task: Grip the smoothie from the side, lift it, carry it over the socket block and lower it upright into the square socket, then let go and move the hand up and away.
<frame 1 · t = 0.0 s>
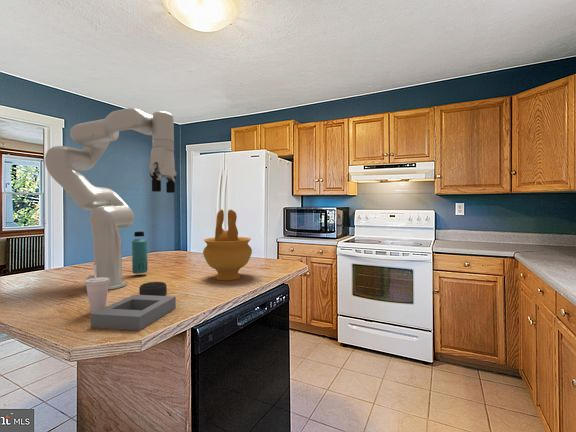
hand: (163, 192, 118), 37 cm above the countertop, tool pointing down, fingers open, 9 cm apart
beverage bottle: (140, 275, 143), on the countertop
socket block: (136, 316, 90), on the countertop
smoothie: (98, 312, 94), on the countertop
smart speaker: (153, 296, 112), on the countertop
decorative bowl: (228, 278, 139), on the countertop
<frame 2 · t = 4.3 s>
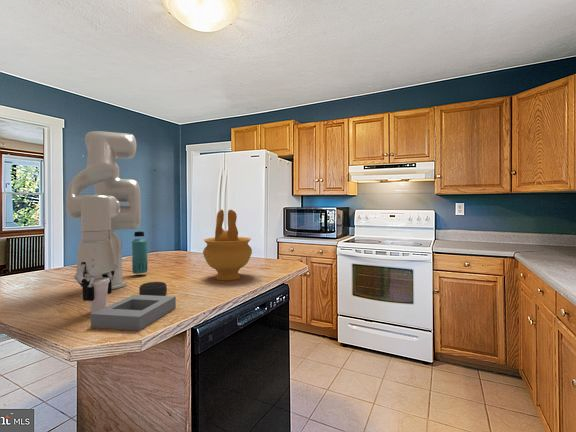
hand: (97, 296, 94), 5 cm above the countertop, tool pointing down, fingers closed on smoothie, 6 cm apart
smoothie: (98, 312, 94), on the countertop, touching gripper
everything else where it was.
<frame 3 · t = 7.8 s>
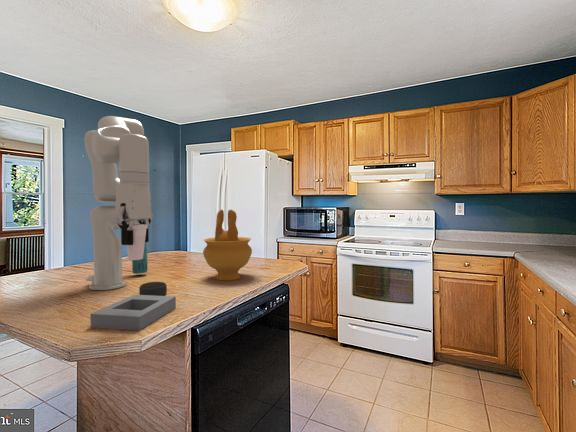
hand: (135, 242, 89), 21 cm above the countertop, tool pointing down, fingers closed on smoothie, 6 cm apart
smoothie: (135, 259, 89), point 16 cm above the countertop, touching gripper
everything else where it was.
when the fingers open (6 cm above the countertop, at t = 11.4 s): smoothie drops 1 cm, resting in socket block.
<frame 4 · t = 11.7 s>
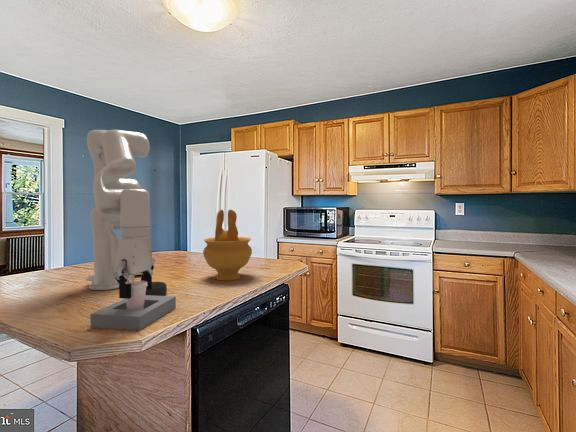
hand: (136, 293, 90), 7 cm above the countertop, tool pointing down, fingers open, 9 cm apart
smoothie: (135, 317, 90), resting in socket block
everything else where it was.
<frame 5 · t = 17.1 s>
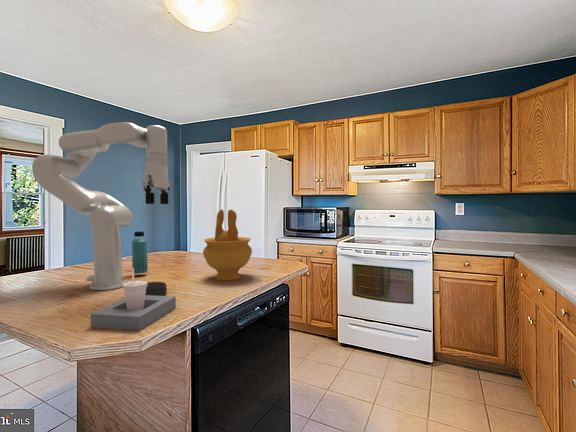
hand: (157, 203, 121), 32 cm above the countertop, tool pointing down, fingers open, 9 cm apart
nothing on the countertop moved.
at the end: smoothie 0.3 cm off-centre on the socket block, point 0.0 cm above the socket block's base; smoothie tilted 0°; the gripper is holding nothing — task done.
